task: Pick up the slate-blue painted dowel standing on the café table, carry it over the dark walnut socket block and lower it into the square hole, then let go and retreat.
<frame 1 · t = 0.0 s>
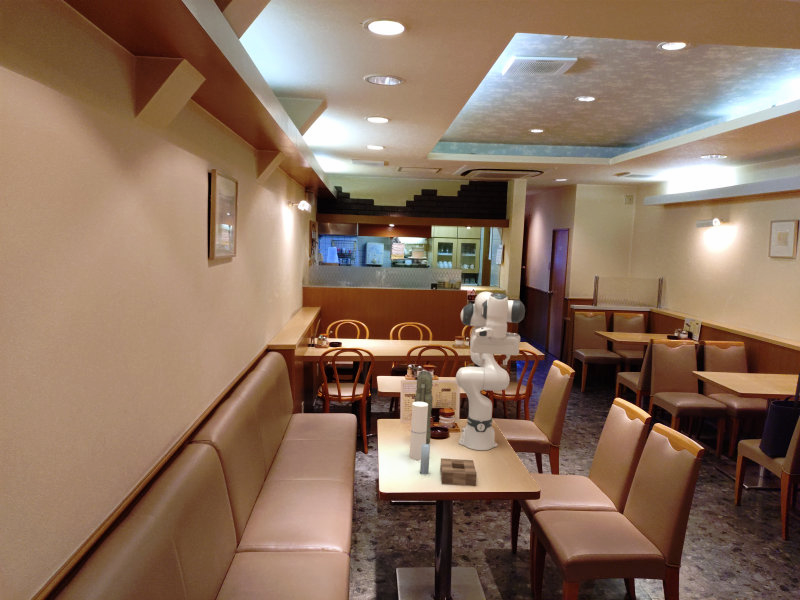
hand: (493, 364, 231), 48 cm above the table, fingers open, 8 cm apart
socket block: (457, 477, 230), on the table
thermos: (421, 442, 268), on the table
peg: (424, 472, 233), on the table
cylindrical container: (417, 457, 249), on the table
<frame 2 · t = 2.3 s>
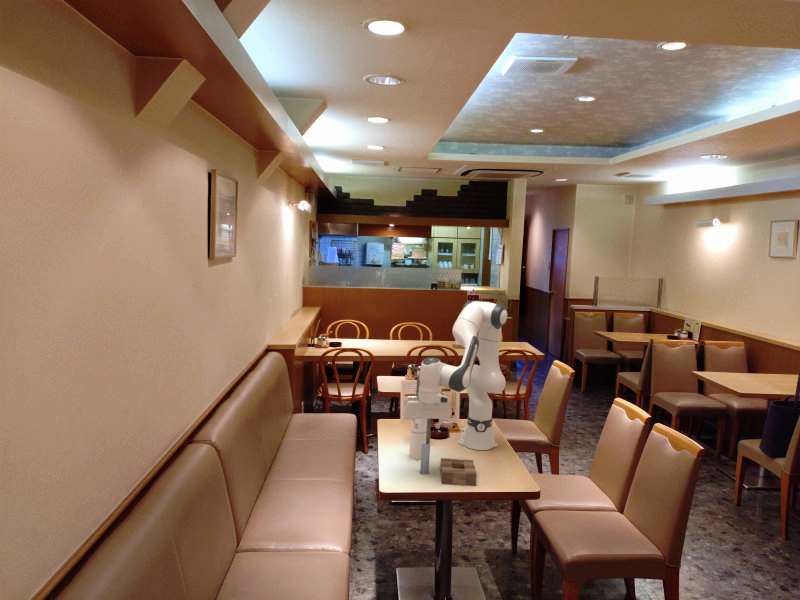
hand: (426, 428, 231), 20 cm above the table, fingers open, 8 cm apart
nothing on the table moved.
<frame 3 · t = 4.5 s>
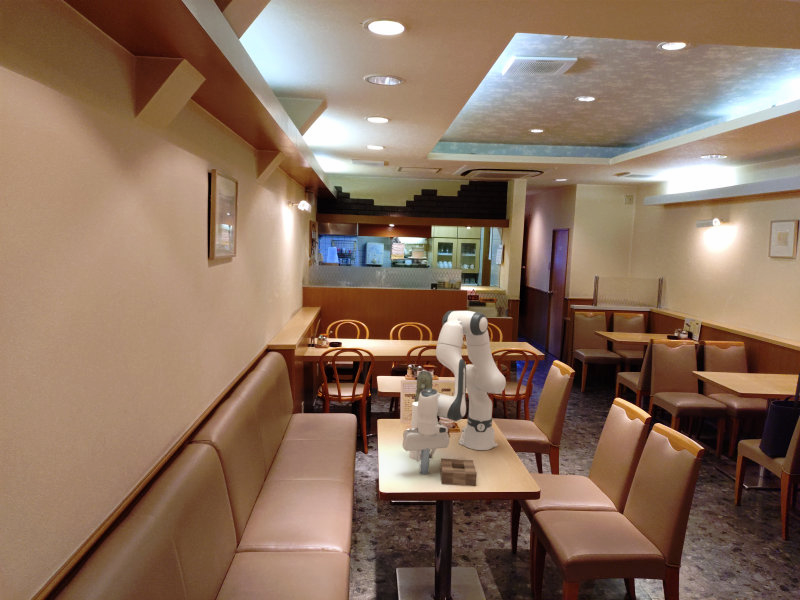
hand: (425, 458, 232), 6 cm above the table, fingers closed on peg, 4 cm apart
peg: (424, 472, 233), on the table, touching gripper
everything else where it was.
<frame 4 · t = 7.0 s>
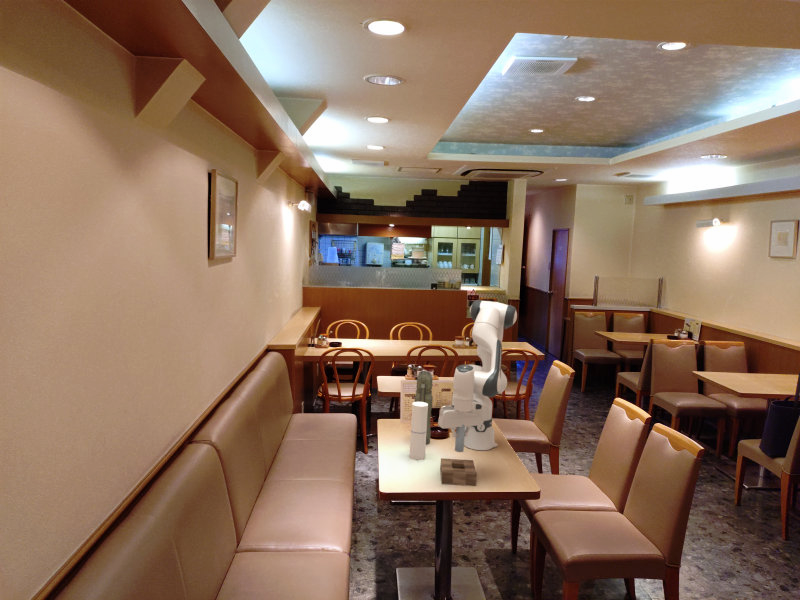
hand: (460, 436, 228), 18 cm above the table, fingers closed on peg, 4 cm apart
peg: (459, 450, 228), point 12 cm above the table, touching gripper
everything else where it was.
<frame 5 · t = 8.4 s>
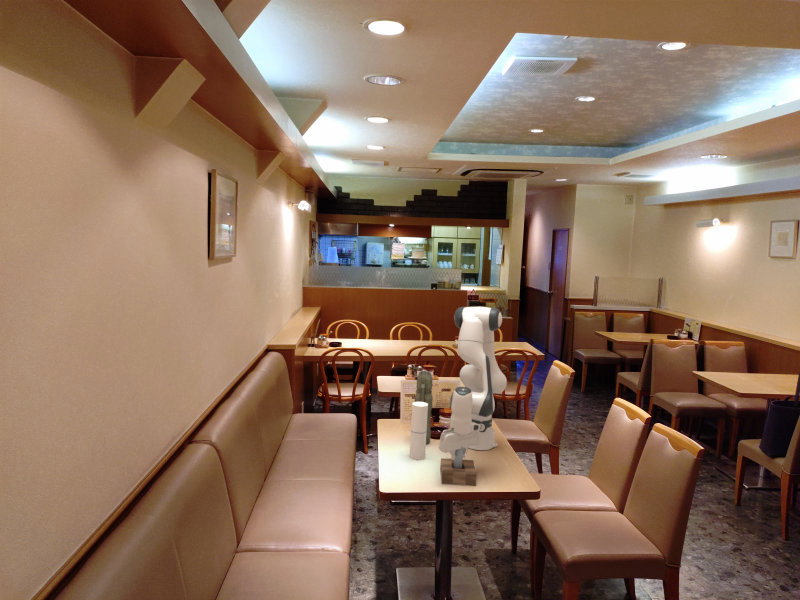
hand: (458, 458, 229), 8 cm above the table, fingers closed on peg, 4 cm apart
peg: (457, 472, 229), point 2 cm above the table, touching gripper
everything else where it was.
when the fingers open (7 cm above the table, at t = 9.3 s): peg stays where it is, resting in socket block.
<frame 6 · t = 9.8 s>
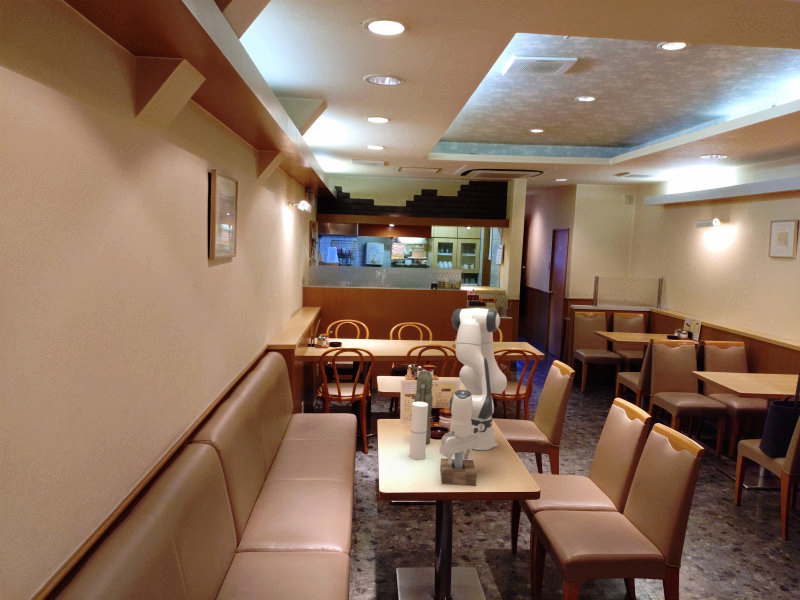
hand: (458, 461, 229), 7 cm above the table, fingers open, 8 cm apart
peg: (457, 477, 230), resting in socket block
everything else where it was.
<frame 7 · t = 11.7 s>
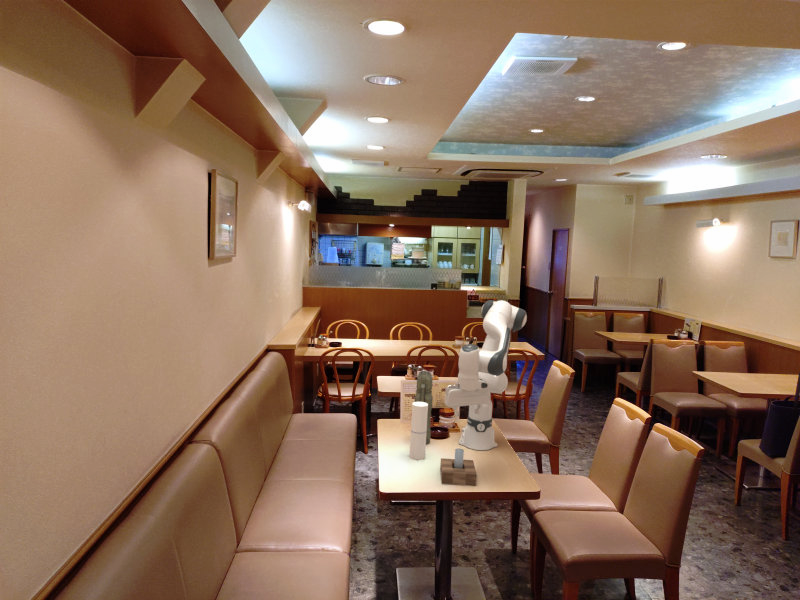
hand: (466, 414, 230), 26 cm above the table, fingers open, 8 cm apart
nothing on the table moved.
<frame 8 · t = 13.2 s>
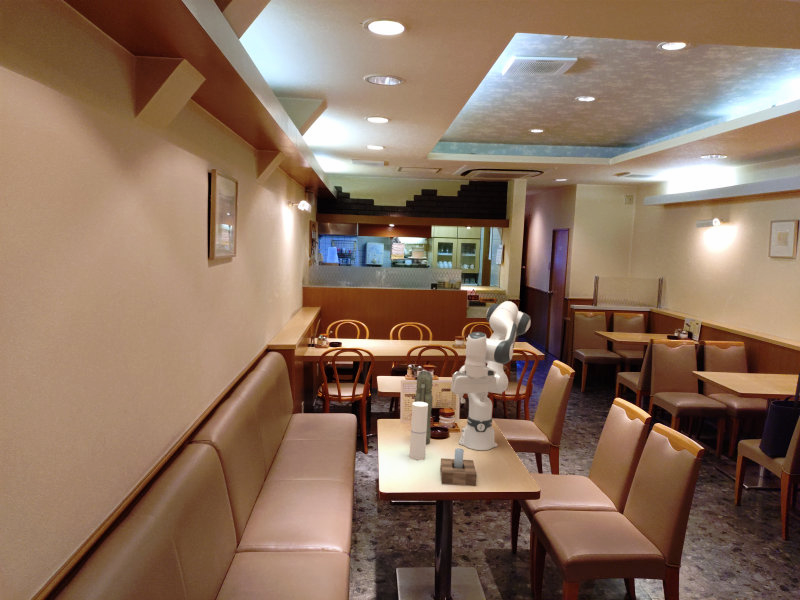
hand: (472, 402, 232), 31 cm above the table, fingers open, 8 cm apart
nothing on the table moved.
at the end: peg 0.1 cm off-centre on the socket block, point 0.0 cm above the socket block's base; peg tilted 0°; the gripper is holding nothing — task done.
